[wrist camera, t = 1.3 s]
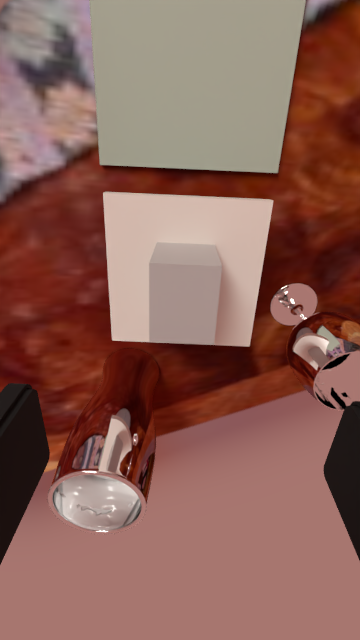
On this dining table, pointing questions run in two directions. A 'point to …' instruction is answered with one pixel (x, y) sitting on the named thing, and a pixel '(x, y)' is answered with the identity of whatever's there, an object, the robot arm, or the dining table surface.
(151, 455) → the beer glass
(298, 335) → the wineglass
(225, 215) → the cover
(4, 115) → the dining table surface
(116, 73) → the mat
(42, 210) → the dining table surface
